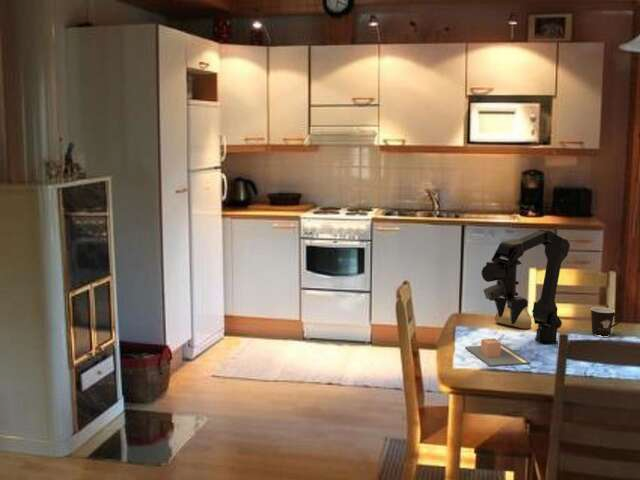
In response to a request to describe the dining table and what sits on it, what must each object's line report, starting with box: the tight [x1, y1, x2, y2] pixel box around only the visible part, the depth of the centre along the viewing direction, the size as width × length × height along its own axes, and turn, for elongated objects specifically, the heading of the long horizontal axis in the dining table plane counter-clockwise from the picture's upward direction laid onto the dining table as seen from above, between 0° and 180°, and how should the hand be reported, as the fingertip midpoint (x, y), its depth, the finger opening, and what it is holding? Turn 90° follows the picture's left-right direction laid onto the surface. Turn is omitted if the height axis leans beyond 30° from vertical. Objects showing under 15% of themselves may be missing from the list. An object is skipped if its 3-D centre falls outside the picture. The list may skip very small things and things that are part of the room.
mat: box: [464, 343, 531, 368], centre depth 256 cm, size 15×20×1 cm
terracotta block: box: [480, 338, 502, 357], centre depth 255 cm, size 5×5×5 cm
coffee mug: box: [590, 306, 623, 336], centre depth 282 cm, size 12×9×10 cm
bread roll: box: [494, 306, 532, 330], centre depth 293 cm, size 10×15×8 cm, turn 56°
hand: (506, 320), depth 260 cm, fingers open, 9 cm apart
